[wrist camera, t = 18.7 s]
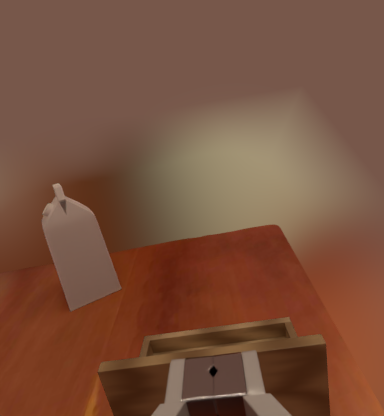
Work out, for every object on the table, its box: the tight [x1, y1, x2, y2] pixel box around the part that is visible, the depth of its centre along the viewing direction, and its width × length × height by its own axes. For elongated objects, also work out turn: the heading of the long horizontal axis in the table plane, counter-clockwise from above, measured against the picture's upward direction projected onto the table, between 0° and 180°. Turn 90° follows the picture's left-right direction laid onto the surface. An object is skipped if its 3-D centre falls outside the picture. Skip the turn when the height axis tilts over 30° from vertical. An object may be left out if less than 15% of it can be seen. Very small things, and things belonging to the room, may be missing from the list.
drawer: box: [98, 317, 330, 416], centre depth 36 cm, size 22×14×13 cm, turn 88°
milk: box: [42, 183, 121, 312], centre depth 65 cm, size 12×12×26 cm
